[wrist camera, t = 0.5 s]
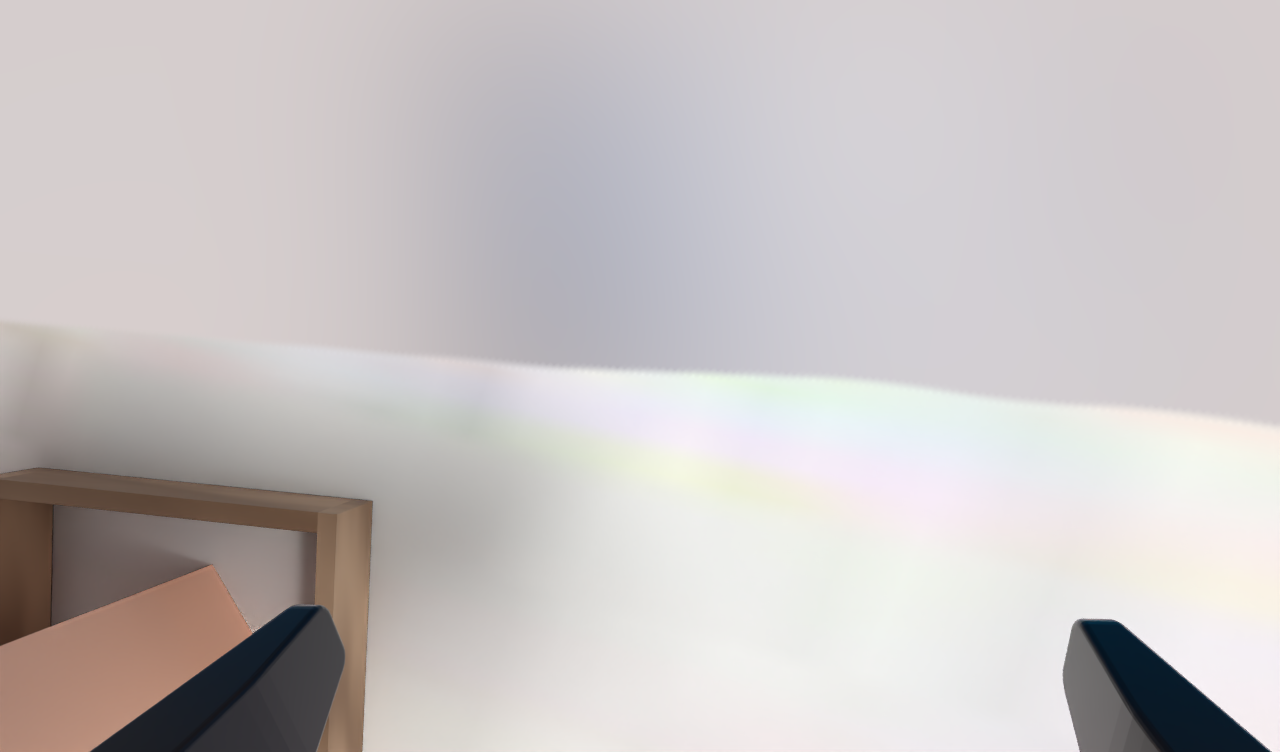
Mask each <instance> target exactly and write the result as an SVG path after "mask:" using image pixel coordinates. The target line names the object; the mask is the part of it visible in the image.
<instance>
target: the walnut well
mask: <svg viewBox="0 0 1280 752" xmlns="http://www.w3.org/2000/svg"><path fill="white" fill-rule="evenodd" d="M372 503H373V501H367V500H357V499H347V498H337V497H327V496H317V495H307V494H297V493H287V492H277V491H267V490H257V489H247V488H237V487H227V486H217V485H207V484H197V483H187V482H177V481H167V480H157V479H147V478H137V477H127V476H117V475H107V474H97V473H87V472H77V471H67V470H57V469H47V468H33V469H27V470H21V471H15V472H9V473H3V474H0V646H2V645H4V644H7V643H9V642H12V641H15V640H17V639H20V638H22V637H25V636H28V635H30V634H33V633H35V632H38V631H41V630H43V629H46V628H48V627H50V619H51V572H52V526H53V504H55V505H64V506H73V507H82V508H91V509H101V510H110V511H119V512H128V513H137V514H146V515H156V516H165V517H174V518H183V519H192V520H201V521H211V522H220V523H229V524H238V525H247V526H257V527H266V528H275V529H284V530H293V531H302V532H312V533H317V550H316V576H315V603H314V605H323V606H325V607H326V608H327V609H328V610H329V612H330V614H331V616H332V619H333V621H334V623H335V626H336V628H337V631H338V633H339V635H340V638H341V640H342V643H343V645H344V648H345V665H344V669H343V673H342V676H341V679H340V682H339V685H338V688H337V691H336V694H335V697H334V700H333V703H332V707H331V710H330V713H329V716H328V719H327V722H326V725H325V728H324V731H323V734H322V737H321V740H320V743H319V747H318V750H317V752H362V745H363V721H364V696H365V672H366V648H367V624H368V600H369V575H370V551H371V527H372Z"/></svg>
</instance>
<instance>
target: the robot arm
mask: <svg viewBox="0 0 1280 752" xmlns="http://www.w3.org/2000/svg"><path fill="white" fill-rule="evenodd" d="M344 665H345V648H344V645H343V643H342V640H341V638H340V635H339V633H338V631H337V628H336V626H335V623H334V621H333V619H332V616H331V614H330V612H329V610H328V609H327V608H326V607H325V606H323V605H307V604H298V605H293V606H291V607H289V608H288V609H286V610H285V611H283V612H282V613H281V614H279V615H278V616H277V617H275V618H274V619H272V620H271V621H270V622H268V623H267V624H265V625H264V626H263V627H261V628H260V629H259V630H257V631H256V632H254V633H253V634H252V635H250V636H249V637H247V638H246V639H245V640H243V641H242V642H241V643H239V644H238V645H236V646H235V647H234V648H232V649H231V650H229V651H228V652H227V653H225V654H224V655H223V656H221V657H220V658H218V659H217V660H216V661H214V662H213V663H211V664H210V665H209V666H207V667H206V668H205V669H203V670H202V671H200V672H199V673H198V674H196V675H195V676H193V677H192V678H191V679H189V680H188V681H187V682H185V683H184V684H182V685H181V686H180V687H178V688H177V689H175V690H174V691H173V692H171V693H170V694H169V695H167V696H166V697H164V698H163V699H162V700H160V701H159V702H157V703H156V704H155V705H153V706H152V707H151V708H149V709H148V710H146V711H145V712H144V713H142V714H141V715H139V716H138V717H137V718H135V719H134V720H133V721H131V722H130V723H128V724H127V725H126V726H124V727H123V728H121V729H120V730H119V731H117V732H116V733H115V734H113V735H112V736H110V737H109V738H108V739H106V740H105V741H103V742H102V743H101V744H99V745H98V746H97V747H95V748H94V749H92V750H91V751H90V752H317V750H318V747H319V743H320V740H321V737H322V734H323V731H324V728H325V725H326V722H327V719H328V716H329V713H330V710H331V707H332V703H333V700H334V697H335V694H336V691H337V688H338V685H339V682H340V679H341V676H342V673H343V669H344ZM1063 684H1064V690H1065V695H1066V699H1067V702H1068V706H1069V710H1070V714H1071V718H1072V722H1073V726H1074V730H1075V734H1076V738H1077V742H1078V746H1079V750H1080V752H1271V751H1270V750H1269V749H1268V748H1267V747H1265V746H1264V745H1263V744H1262V743H1261V742H1260V741H1258V740H1257V739H1256V738H1255V737H1254V736H1253V735H1251V734H1250V733H1249V732H1248V731H1247V730H1246V729H1244V728H1243V727H1242V726H1241V725H1240V724H1238V723H1237V722H1236V721H1235V720H1234V719H1233V718H1231V717H1230V716H1229V715H1228V714H1227V713H1226V712H1224V711H1223V710H1222V709H1221V708H1220V707H1219V706H1217V705H1216V704H1215V703H1214V702H1213V701H1212V700H1210V699H1209V698H1208V697H1207V696H1206V695H1205V694H1203V693H1202V692H1201V691H1200V690H1199V689H1198V688H1196V687H1195V686H1194V685H1193V684H1192V683H1191V682H1189V681H1188V680H1187V679H1186V678H1185V677H1184V676H1182V675H1181V674H1180V673H1179V672H1178V671H1177V670H1175V669H1174V668H1173V667H1172V666H1171V665H1169V664H1168V663H1167V662H1166V661H1165V660H1164V659H1162V658H1161V657H1160V656H1159V655H1158V654H1157V653H1155V652H1154V651H1153V650H1152V649H1151V648H1150V647H1148V646H1147V645H1146V644H1145V643H1144V642H1143V641H1141V640H1140V639H1139V638H1138V637H1137V636H1136V635H1134V634H1133V633H1132V632H1131V631H1130V630H1129V629H1127V628H1126V627H1125V626H1124V625H1122V624H1121V623H1119V622H1117V621H1115V620H1112V619H1079V620H1077V621H1075V623H1074V624H1073V626H1072V630H1071V634H1070V639H1069V644H1068V648H1067V653H1066V658H1065V662H1064V667H1063Z"/></svg>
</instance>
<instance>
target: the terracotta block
mask: <svg viewBox="0 0 1280 752" xmlns="http://www.w3.org/2000/svg"><path fill="white" fill-rule="evenodd" d="M250 635H252V632H251V630H250V629H249V627H248V625H247V623H246V622H245V620H244V618H243V616H242V615H241V613H240V611H239V610H238V608H237V606H236V604H235V603H234V601H233V599H232V597H231V596H230V594H229V592H228V591H227V589H226V587H225V585H224V584H223V582H222V580H221V578H220V577H219V575H218V573H217V572H216V570H215V568H214V566H213V565H209V566H207V567H204V568H202V569H199V570H196V571H194V572H191V573H189V574H186V575H183V576H181V577H178V578H176V579H173V580H170V581H168V582H165V583H163V584H160V585H157V586H155V587H152V588H150V589H147V590H144V591H142V592H139V593H137V594H134V595H131V596H129V597H126V598H124V599H121V600H118V601H116V602H113V603H111V604H108V605H106V606H103V607H100V608H98V609H95V610H93V611H90V612H87V613H85V614H82V615H80V616H77V617H74V618H72V619H69V620H67V621H64V622H61V623H59V624H56V625H54V626H51V627H48V628H46V629H43V630H41V631H38V632H35V633H33V634H30V635H28V636H25V637H22V638H20V639H17V640H15V641H12V642H9V643H7V644H4V645H2V646H0V752H90V751H91V750H92V749H94V748H95V747H97V746H98V745H99V744H101V743H102V742H103V741H105V740H106V739H108V738H109V737H110V736H112V735H113V734H115V733H116V732H117V731H119V730H120V729H121V728H123V727H124V726H126V725H127V724H128V723H130V722H131V721H133V720H134V719H135V718H137V717H138V716H139V715H141V714H142V713H144V712H145V711H146V710H148V709H149V708H151V707H152V706H153V705H155V704H156V703H157V702H159V701H160V700H162V699H163V698H164V697H166V696H167V695H169V694H170V693H171V692H173V691H174V690H175V689H177V688H178V687H180V686H181V685H182V684H184V683H185V682H187V681H188V680H189V679H191V678H192V677H193V676H195V675H196V674H198V673H199V672H200V671H202V670H203V669H205V668H206V667H207V666H209V665H210V664H211V663H213V662H214V661H216V660H217V659H218V658H220V657H221V656H223V655H224V654H225V653H227V652H228V651H229V650H231V649H232V648H234V647H235V646H236V645H238V644H239V643H241V642H242V641H243V640H245V639H246V638H247V637H249V636H250Z"/></svg>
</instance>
